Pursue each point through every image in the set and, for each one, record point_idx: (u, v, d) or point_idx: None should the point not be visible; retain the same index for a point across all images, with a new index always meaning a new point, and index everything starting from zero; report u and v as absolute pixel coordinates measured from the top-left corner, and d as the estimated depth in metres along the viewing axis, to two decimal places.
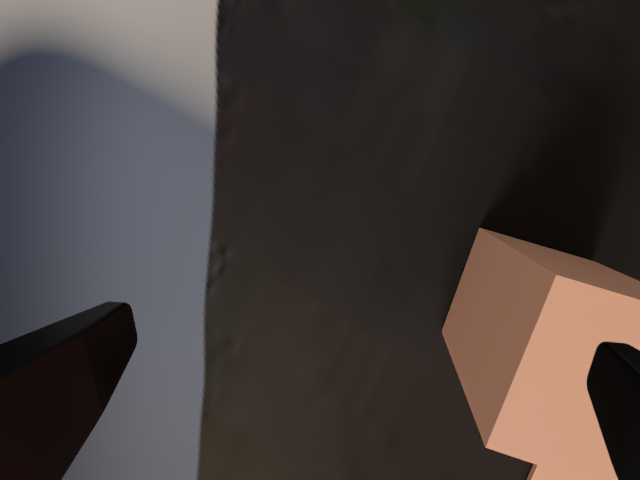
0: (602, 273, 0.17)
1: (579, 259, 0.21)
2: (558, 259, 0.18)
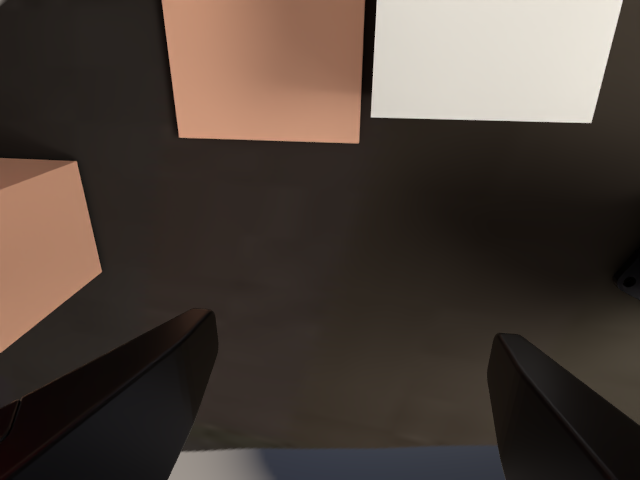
0: None
1: None
2: None
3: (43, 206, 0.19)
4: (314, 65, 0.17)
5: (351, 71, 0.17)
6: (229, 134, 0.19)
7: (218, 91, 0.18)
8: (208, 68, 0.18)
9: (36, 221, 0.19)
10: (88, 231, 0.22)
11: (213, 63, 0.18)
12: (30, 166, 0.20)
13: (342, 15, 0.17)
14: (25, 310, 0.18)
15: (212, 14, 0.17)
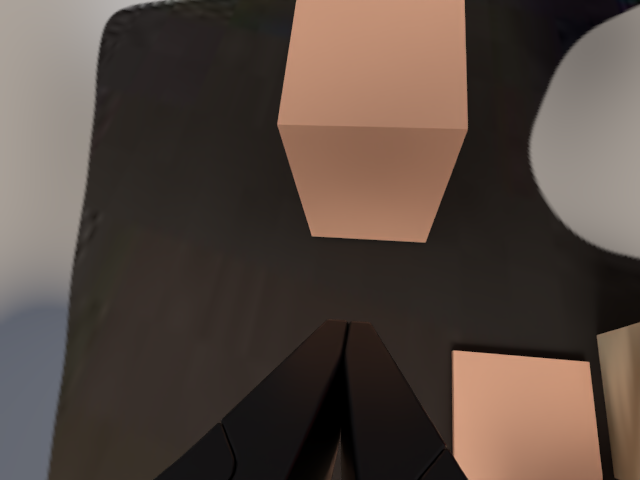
0: None
1: None
2: None
3: (404, 220, 0.20)
4: None
5: None
6: (458, 403, 0.20)
7: (499, 400, 0.19)
8: (519, 393, 0.19)
9: (394, 215, 0.20)
10: (358, 236, 0.23)
11: (524, 399, 0.19)
12: None
13: None
14: (319, 193, 0.19)
15: (567, 407, 0.19)
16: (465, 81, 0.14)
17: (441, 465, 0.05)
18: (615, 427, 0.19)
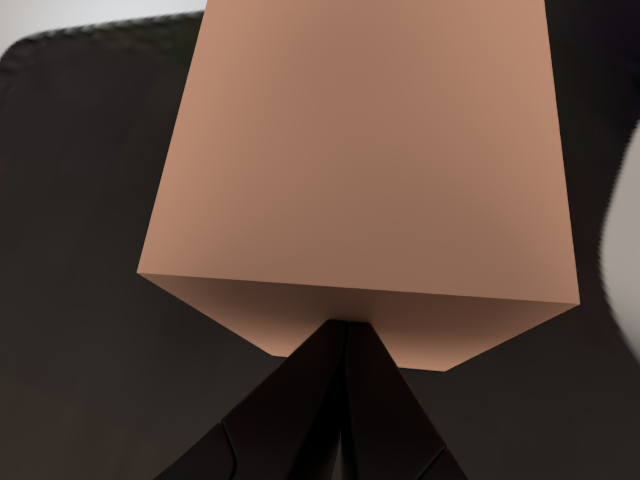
0: None
1: None
2: None
3: (412, 358, 0.12)
4: None
5: None
6: None
7: None
8: None
9: (397, 354, 0.12)
10: None
11: None
12: None
13: None
14: (266, 333, 0.11)
15: None
16: (560, 177, 0.06)
17: (441, 465, 0.05)
18: None
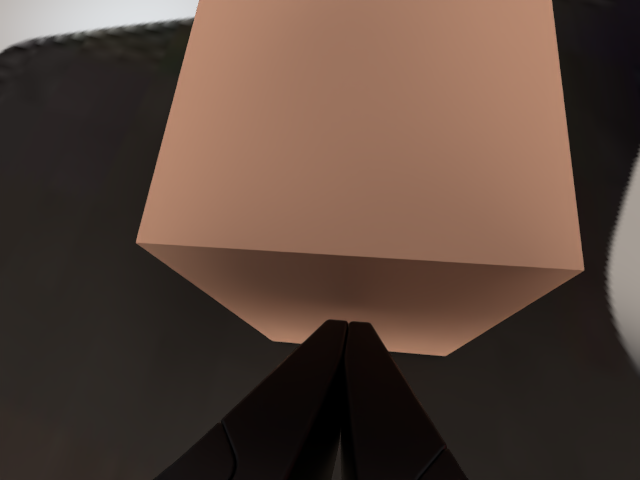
0: None
1: None
2: None
3: (414, 341, 0.12)
4: None
5: None
6: None
7: None
8: None
9: (399, 337, 0.12)
10: None
11: None
12: None
13: None
14: (267, 314, 0.11)
15: None
16: (564, 146, 0.06)
17: (441, 465, 0.05)
18: None
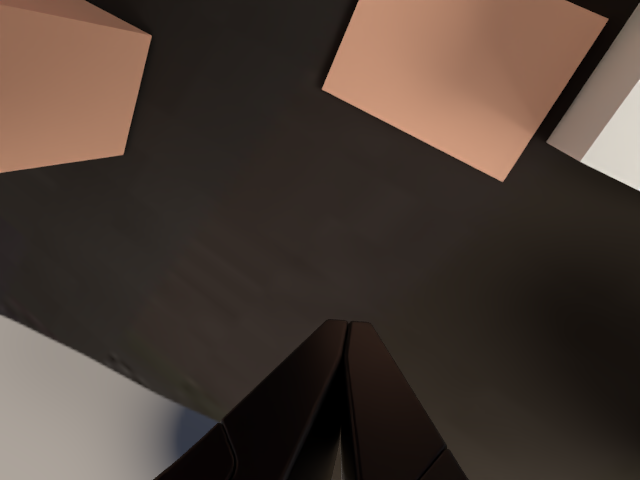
0: None
1: None
2: None
3: (99, 59, 0.18)
4: (502, 81, 0.15)
5: (538, 106, 0.15)
6: (373, 110, 0.17)
7: (387, 62, 0.17)
8: (390, 34, 0.16)
9: (85, 69, 0.17)
10: (129, 108, 0.21)
11: (398, 31, 0.16)
12: (106, 17, 0.19)
13: (562, 45, 0.15)
14: (32, 148, 0.17)
15: None
16: None
17: (441, 465, 0.05)
18: None
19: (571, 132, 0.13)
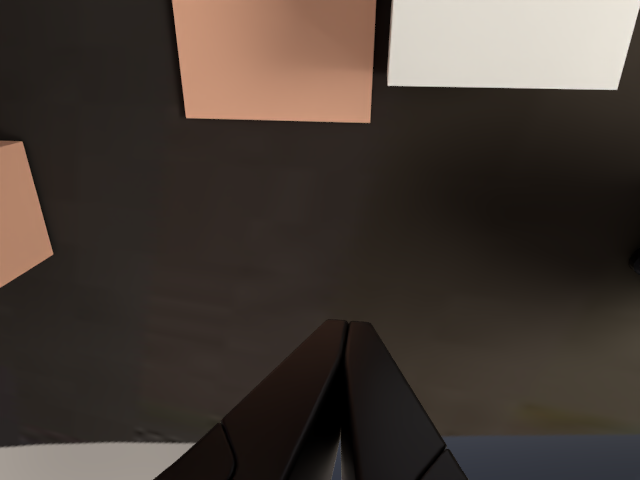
0: None
1: None
2: None
3: None
4: (325, 41, 0.17)
5: (363, 47, 0.17)
6: (237, 114, 0.19)
7: (226, 69, 0.18)
8: (216, 45, 0.18)
9: None
10: (36, 212, 0.22)
11: (221, 40, 0.17)
12: None
13: None
14: None
15: None
16: None
17: (441, 465, 0.05)
18: None
19: (388, 60, 0.15)
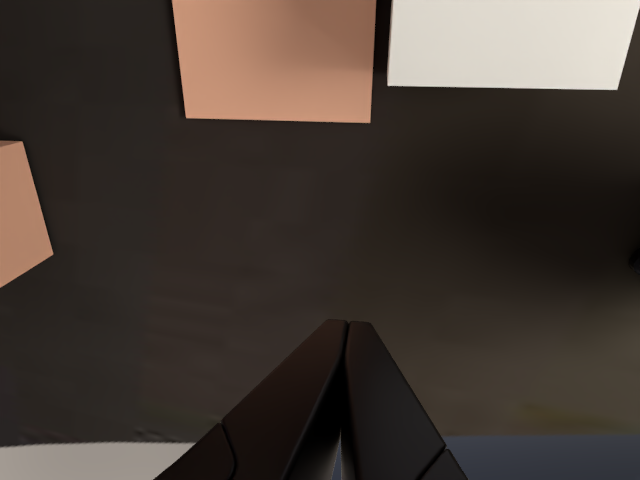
0: None
1: None
2: None
3: None
4: (325, 41, 0.17)
5: (363, 47, 0.17)
6: (237, 114, 0.19)
7: (226, 69, 0.18)
8: (216, 45, 0.18)
9: None
10: (36, 212, 0.22)
11: (221, 40, 0.17)
12: None
13: None
14: None
15: None
16: None
17: (441, 465, 0.05)
18: None
19: (388, 60, 0.15)
